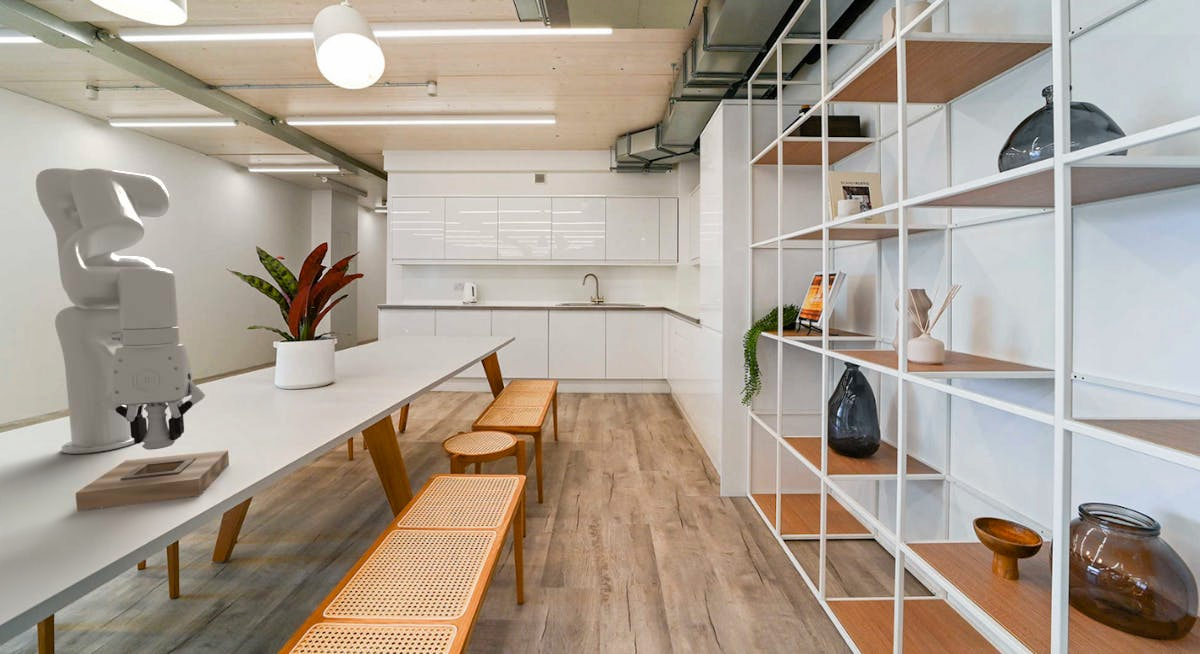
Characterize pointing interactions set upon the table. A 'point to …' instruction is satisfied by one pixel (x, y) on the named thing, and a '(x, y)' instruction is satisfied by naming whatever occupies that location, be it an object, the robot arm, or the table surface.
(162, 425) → the rook chess piece
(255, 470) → the table surface
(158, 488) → the walnut board
